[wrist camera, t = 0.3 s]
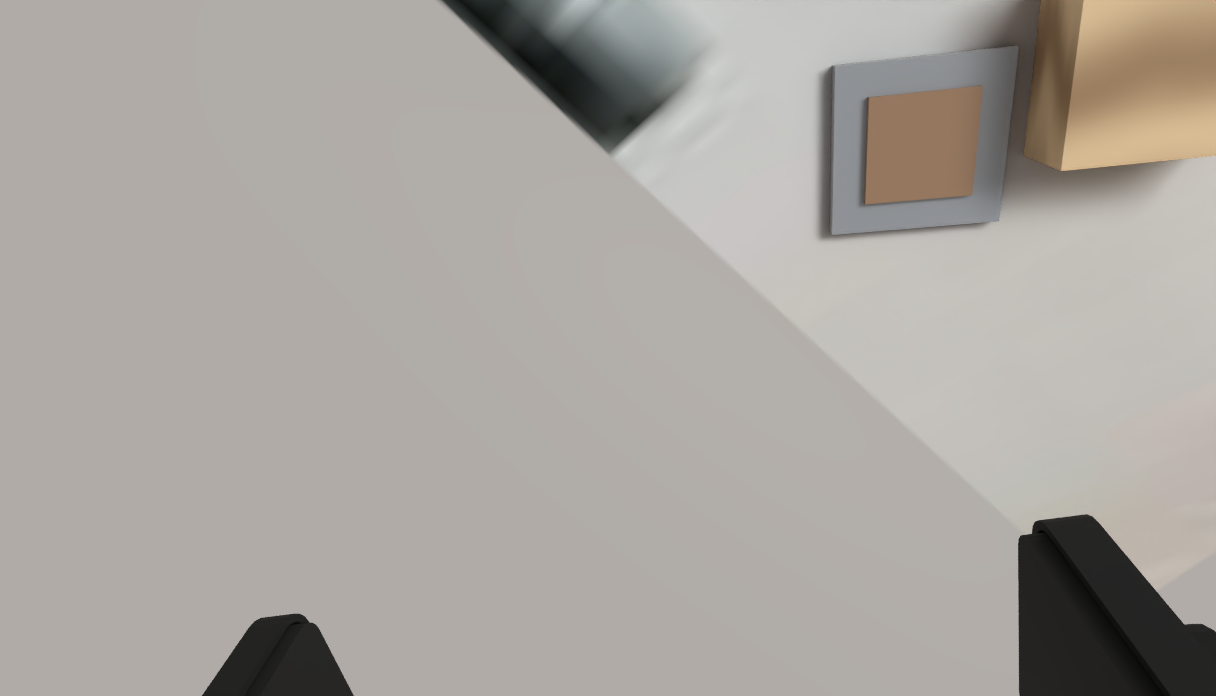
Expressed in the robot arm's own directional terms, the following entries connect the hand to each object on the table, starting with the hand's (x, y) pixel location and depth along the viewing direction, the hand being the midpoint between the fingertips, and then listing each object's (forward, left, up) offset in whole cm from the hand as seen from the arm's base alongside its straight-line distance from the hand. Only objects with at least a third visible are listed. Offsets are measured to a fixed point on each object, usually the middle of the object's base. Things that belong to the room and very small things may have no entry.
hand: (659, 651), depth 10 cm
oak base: (-4, +21, -30) cm, 37 cm away
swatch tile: (-1, +12, -30) cm, 32 cm away
